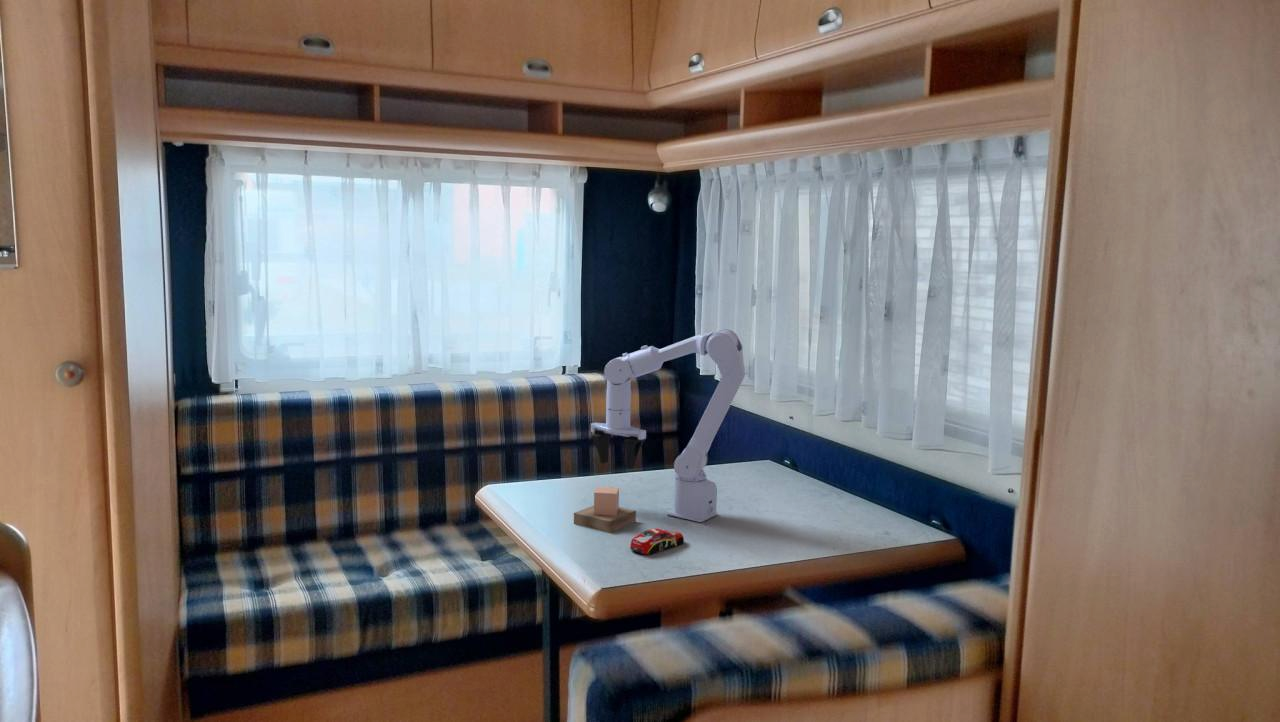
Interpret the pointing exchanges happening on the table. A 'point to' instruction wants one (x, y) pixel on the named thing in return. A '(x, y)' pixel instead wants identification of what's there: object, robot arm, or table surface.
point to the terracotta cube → (606, 501)
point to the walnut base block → (604, 519)
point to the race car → (656, 541)
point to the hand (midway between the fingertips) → (617, 465)
